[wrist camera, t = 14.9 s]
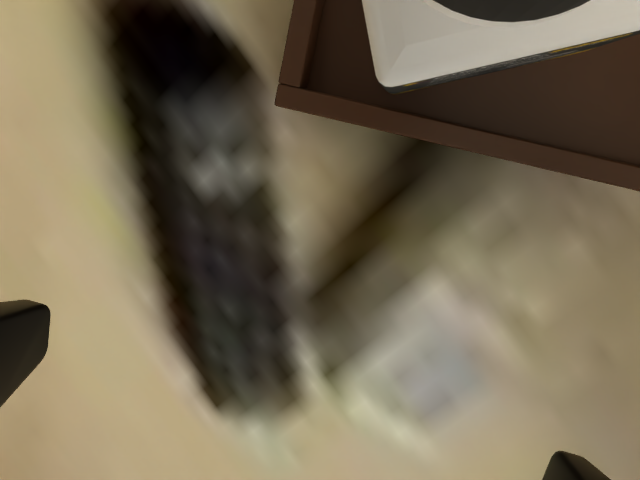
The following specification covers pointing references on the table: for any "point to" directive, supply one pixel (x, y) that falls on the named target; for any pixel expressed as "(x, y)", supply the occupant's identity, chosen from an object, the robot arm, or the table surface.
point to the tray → (475, 98)
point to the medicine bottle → (485, 35)
